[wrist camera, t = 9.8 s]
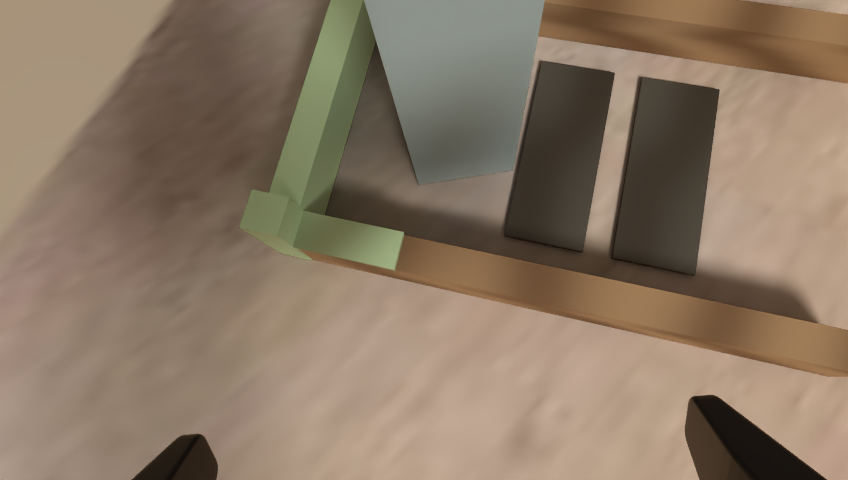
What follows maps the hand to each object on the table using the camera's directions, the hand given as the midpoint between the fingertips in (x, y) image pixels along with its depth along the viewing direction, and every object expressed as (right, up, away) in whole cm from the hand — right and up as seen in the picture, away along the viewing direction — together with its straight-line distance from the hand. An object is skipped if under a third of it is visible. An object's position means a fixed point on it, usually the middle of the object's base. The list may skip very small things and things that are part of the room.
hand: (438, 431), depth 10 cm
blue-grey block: (+1, +9, +16) cm, 18 cm away
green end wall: (-4, +10, +17) cm, 20 cm away
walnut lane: (+7, +7, +15) cm, 18 cm away
